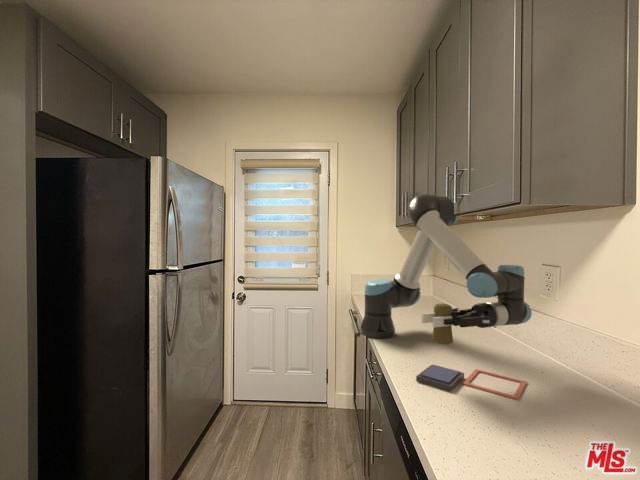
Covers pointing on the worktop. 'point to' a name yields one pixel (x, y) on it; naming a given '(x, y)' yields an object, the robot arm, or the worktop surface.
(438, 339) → the cork
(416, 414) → the worktop surface
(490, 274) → the robot arm
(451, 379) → the ink pad
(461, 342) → the worktop surface
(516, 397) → the marked square
